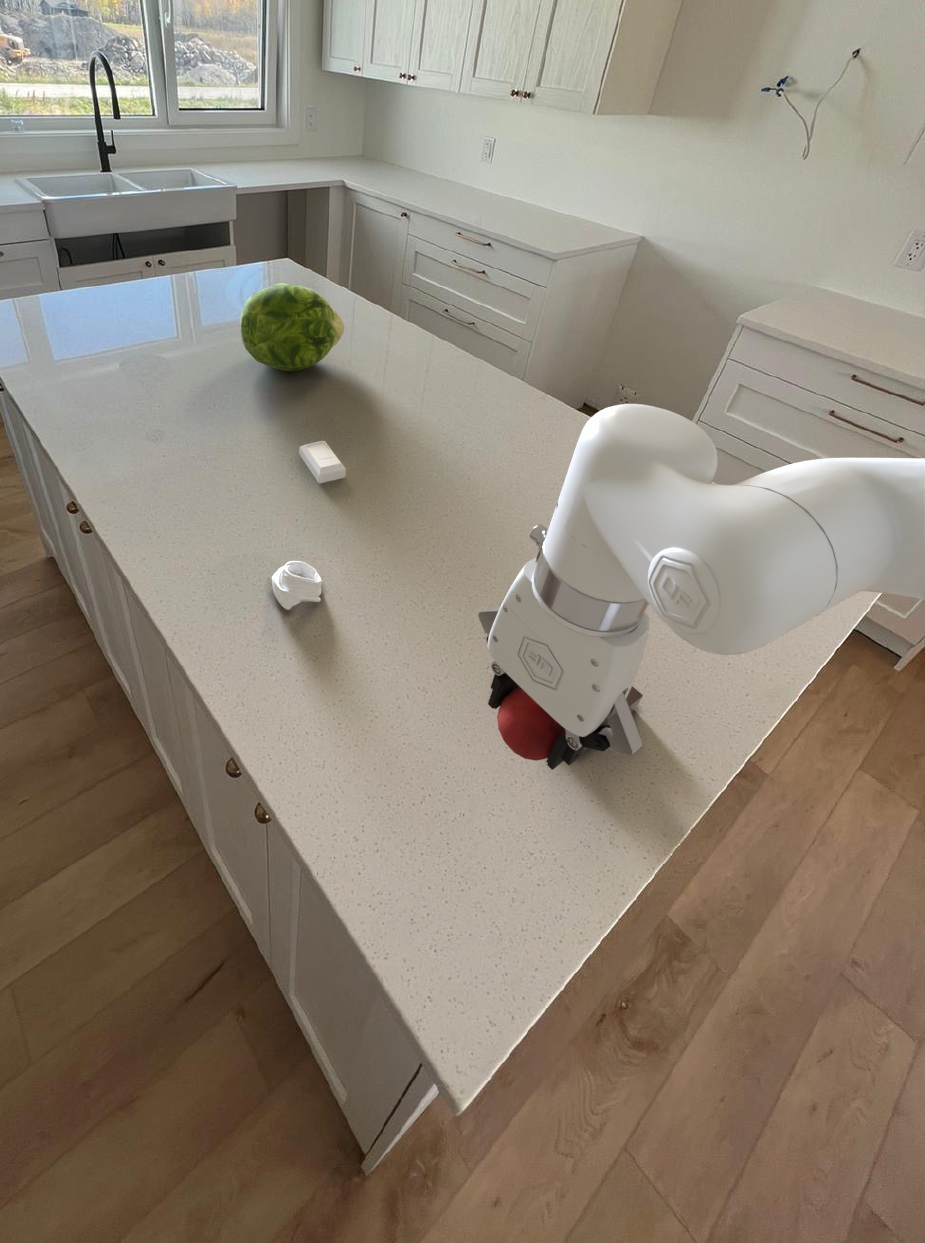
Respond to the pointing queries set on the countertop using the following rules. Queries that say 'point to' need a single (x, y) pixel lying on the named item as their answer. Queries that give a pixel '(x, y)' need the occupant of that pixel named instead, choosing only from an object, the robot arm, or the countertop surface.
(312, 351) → the lettuce
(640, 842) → the countertop surface
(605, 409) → the robot arm
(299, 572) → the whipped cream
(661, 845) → the countertop surface
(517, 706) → the onion
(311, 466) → the soap bar
